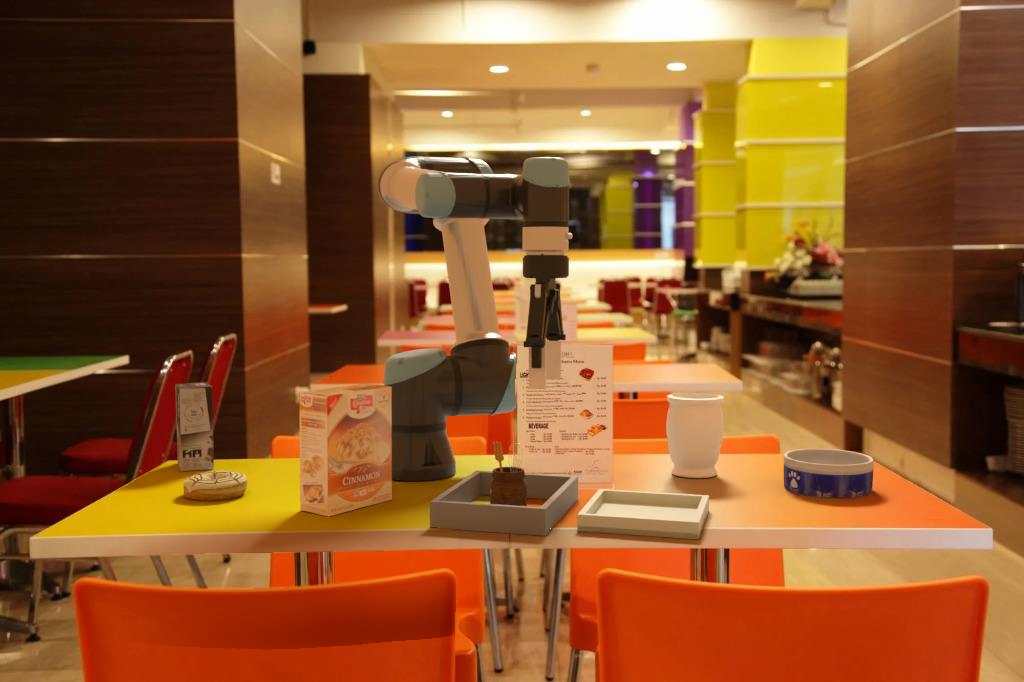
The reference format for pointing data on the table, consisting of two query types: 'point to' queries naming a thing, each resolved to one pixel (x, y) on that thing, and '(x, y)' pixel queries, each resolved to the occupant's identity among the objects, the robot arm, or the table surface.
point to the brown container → (508, 482)
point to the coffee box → (194, 426)
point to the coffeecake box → (345, 448)
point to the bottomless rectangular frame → (463, 515)
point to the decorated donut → (215, 485)
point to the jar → (694, 433)
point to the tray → (644, 513)
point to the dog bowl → (828, 473)
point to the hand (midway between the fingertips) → (545, 383)
